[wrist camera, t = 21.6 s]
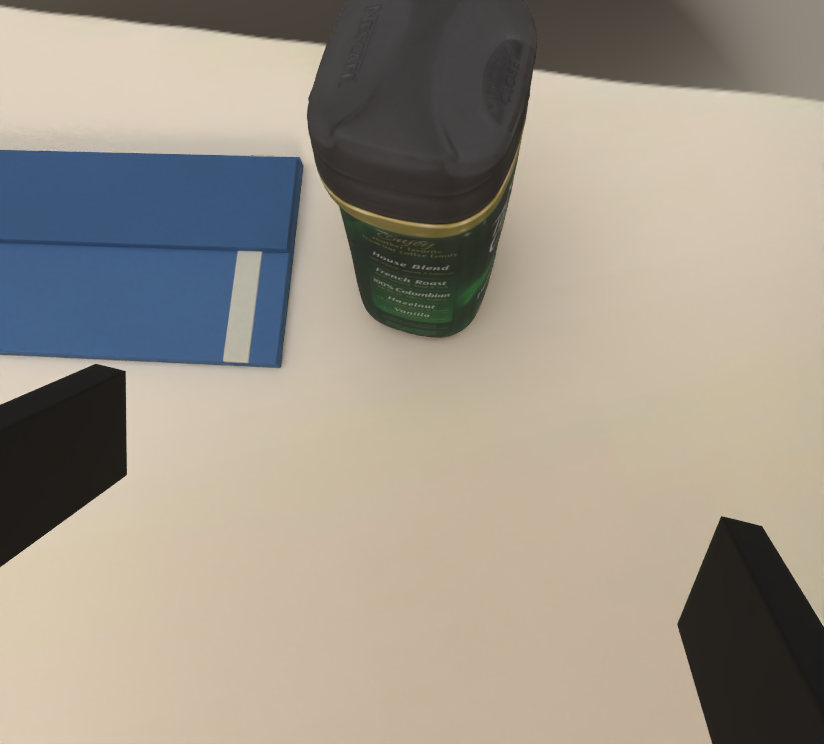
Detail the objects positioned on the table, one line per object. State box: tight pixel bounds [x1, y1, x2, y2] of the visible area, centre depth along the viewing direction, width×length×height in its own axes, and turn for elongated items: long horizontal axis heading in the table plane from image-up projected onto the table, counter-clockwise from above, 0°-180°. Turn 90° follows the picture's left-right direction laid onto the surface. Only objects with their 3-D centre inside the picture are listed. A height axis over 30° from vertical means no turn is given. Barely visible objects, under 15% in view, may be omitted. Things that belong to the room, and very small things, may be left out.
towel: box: [0, 150, 303, 368], centre depth 38 cm, size 26×14×2 cm, turn 87°
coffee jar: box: [307, 0, 537, 337], centre depth 29 cm, size 10×8×19 cm
